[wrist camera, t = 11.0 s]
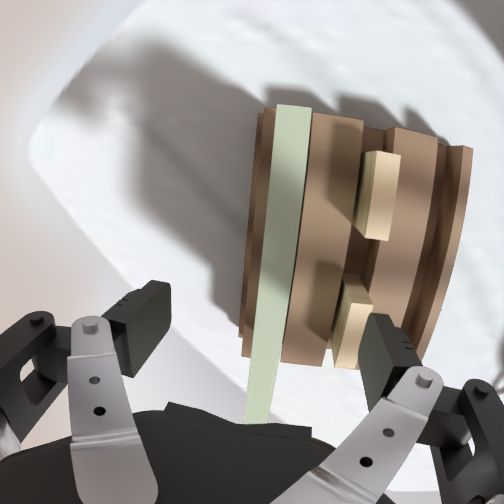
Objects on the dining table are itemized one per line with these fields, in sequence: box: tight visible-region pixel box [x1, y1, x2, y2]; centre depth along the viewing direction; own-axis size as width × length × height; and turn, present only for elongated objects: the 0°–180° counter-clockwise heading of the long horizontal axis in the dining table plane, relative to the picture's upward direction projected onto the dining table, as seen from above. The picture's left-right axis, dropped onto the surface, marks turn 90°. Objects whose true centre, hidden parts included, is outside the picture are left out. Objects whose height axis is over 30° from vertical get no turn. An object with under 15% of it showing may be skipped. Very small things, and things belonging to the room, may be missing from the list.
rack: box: [238, 108, 473, 370], centre depth 24 cm, size 20×18×4 cm
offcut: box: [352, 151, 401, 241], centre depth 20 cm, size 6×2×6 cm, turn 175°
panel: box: [243, 104, 312, 424], centre depth 19 cm, size 16×1×14 cm, turn 175°
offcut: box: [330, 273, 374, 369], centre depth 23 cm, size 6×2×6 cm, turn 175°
